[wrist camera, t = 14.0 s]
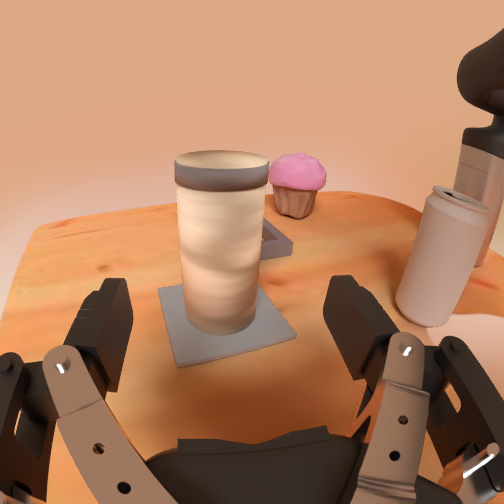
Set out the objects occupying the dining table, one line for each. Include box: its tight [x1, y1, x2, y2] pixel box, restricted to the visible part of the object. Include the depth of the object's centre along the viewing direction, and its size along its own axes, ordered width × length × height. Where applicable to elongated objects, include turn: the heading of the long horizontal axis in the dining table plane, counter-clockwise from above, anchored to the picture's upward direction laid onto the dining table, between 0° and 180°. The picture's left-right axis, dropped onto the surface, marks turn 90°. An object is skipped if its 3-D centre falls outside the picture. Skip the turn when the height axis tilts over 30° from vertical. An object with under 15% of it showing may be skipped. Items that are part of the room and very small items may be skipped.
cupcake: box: [269, 153, 326, 219], centre depth 42 cm, size 9×9×10 cm
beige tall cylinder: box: [175, 150, 269, 336], centre depth 19 cm, size 6×6×12 cm
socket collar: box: [260, 218, 293, 260], centre depth 34 cm, size 10×10×2 cm
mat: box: [158, 284, 296, 367], centre depth 22 cm, size 9×9×1 cm
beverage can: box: [395, 186, 489, 327], centre depth 21 cm, size 6×6×12 cm
